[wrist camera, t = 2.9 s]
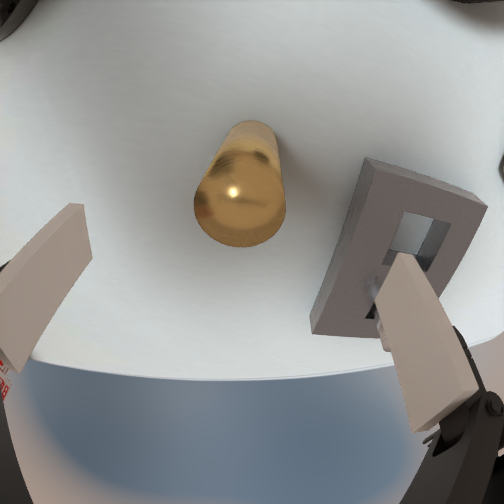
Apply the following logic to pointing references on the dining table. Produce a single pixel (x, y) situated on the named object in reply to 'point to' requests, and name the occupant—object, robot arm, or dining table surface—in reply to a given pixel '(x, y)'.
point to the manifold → (379, 239)
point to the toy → (4, 380)
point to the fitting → (243, 188)
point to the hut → (476, 1)
